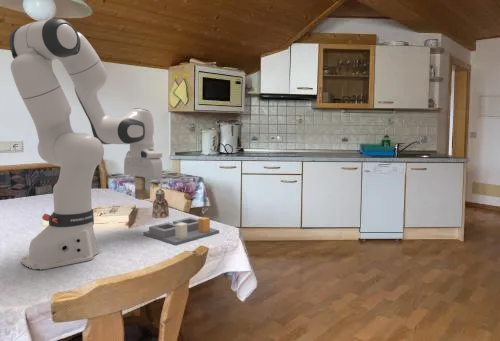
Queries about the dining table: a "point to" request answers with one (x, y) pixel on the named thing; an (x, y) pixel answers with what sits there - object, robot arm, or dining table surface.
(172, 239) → the socket board
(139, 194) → the wood plug
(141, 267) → the dining table surface
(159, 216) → the figurine
